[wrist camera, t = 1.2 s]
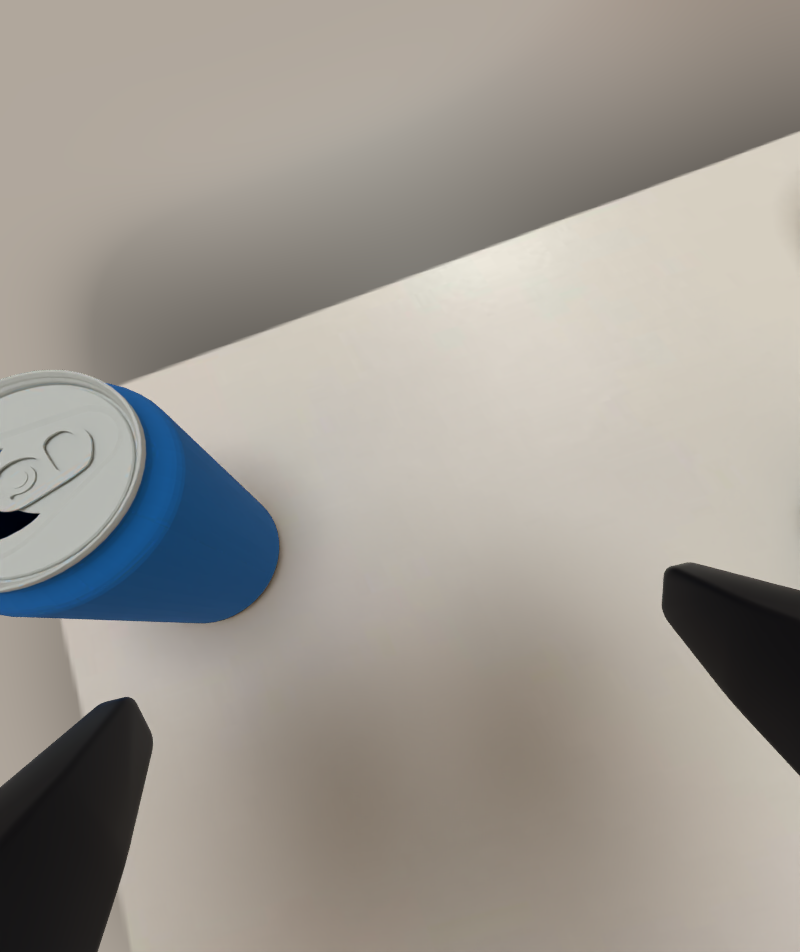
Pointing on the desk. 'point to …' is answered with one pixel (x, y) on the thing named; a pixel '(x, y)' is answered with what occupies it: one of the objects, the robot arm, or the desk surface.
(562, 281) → the desk surface
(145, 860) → the desk surface
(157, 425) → the beverage can
